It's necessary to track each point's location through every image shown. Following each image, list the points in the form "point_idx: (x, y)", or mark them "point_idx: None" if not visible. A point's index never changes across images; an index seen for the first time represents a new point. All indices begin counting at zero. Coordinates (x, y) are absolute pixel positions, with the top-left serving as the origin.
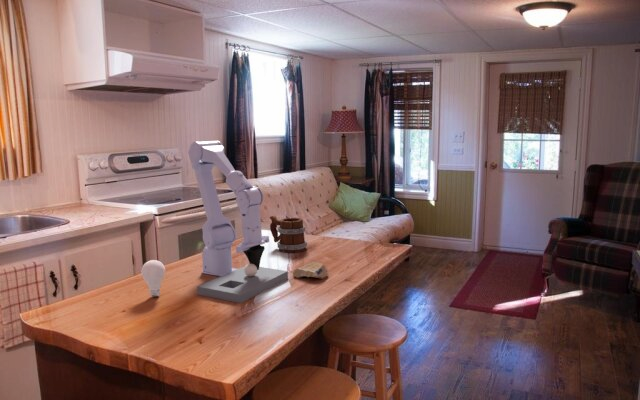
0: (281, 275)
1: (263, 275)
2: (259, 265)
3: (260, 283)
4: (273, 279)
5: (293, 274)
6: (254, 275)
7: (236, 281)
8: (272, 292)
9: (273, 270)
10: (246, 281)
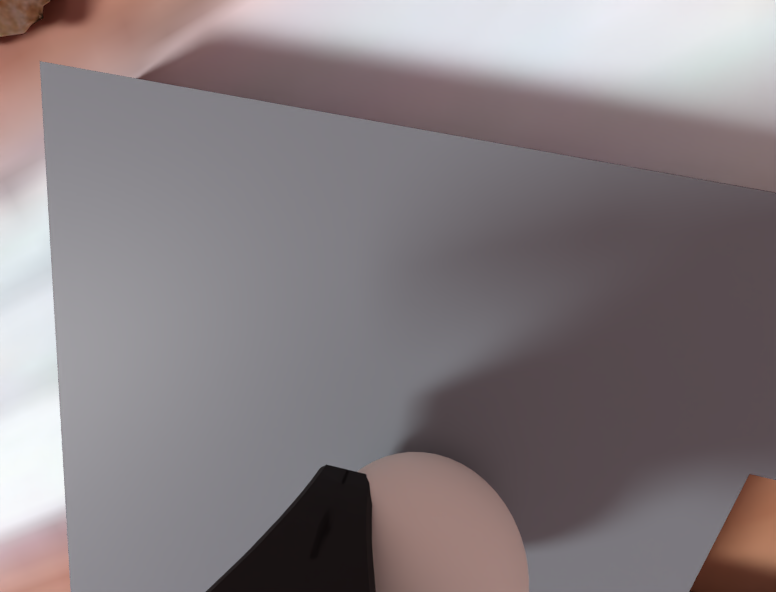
0: (223, 95)
1: (357, 345)
2: (296, 501)
3: (765, 234)
4: (447, 134)
5: (17, 21)
6: None
7: (686, 590)
8: (708, 36)
9: (107, 296)
10: (681, 473)
